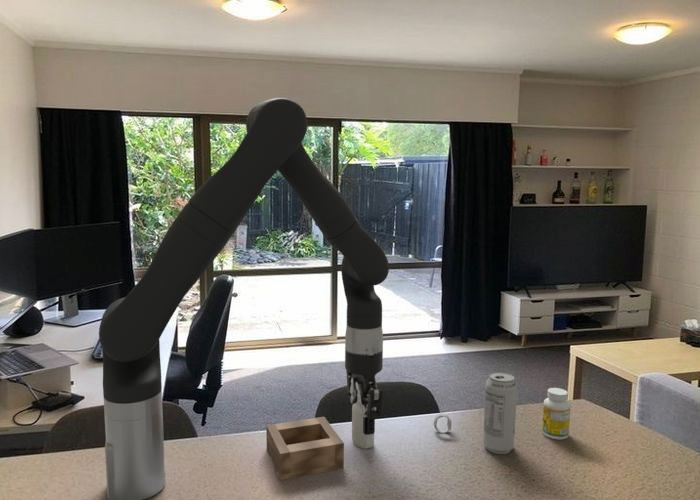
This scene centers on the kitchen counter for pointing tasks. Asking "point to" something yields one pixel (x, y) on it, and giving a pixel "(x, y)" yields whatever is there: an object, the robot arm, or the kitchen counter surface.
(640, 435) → the kitchen counter surface
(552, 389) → the supplement bottle
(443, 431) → the smartwatch
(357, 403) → the eye dropper bottle
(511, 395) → the energy drink can
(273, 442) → the socket block
